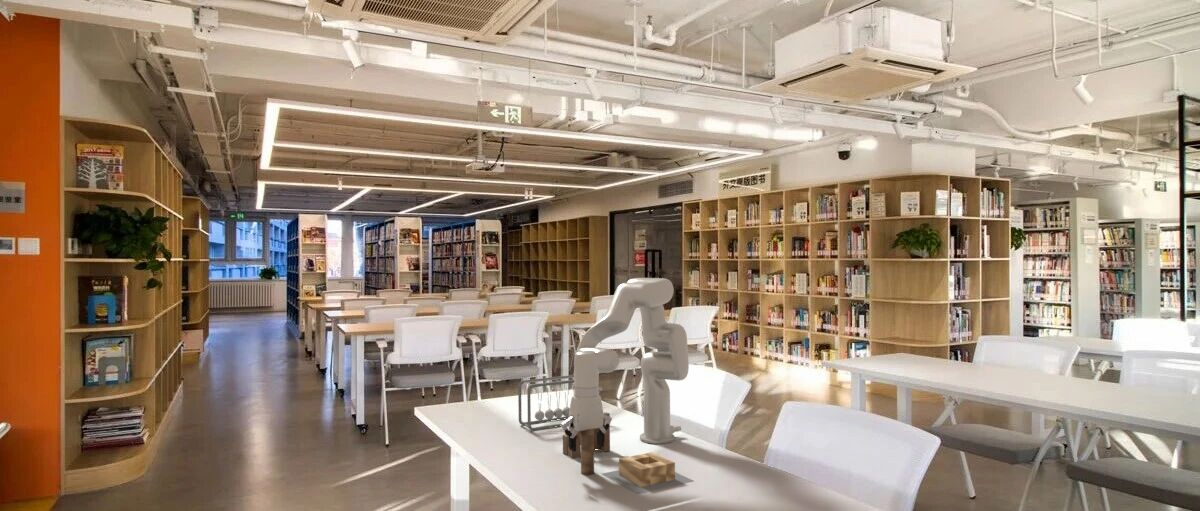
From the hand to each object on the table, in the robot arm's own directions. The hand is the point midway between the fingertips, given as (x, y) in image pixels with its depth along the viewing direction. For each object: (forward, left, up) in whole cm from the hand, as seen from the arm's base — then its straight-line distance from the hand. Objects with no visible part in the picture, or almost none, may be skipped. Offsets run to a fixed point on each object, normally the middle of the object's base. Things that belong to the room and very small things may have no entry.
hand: (586, 448), depth 203 cm
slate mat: (-13, +13, -8) cm, 20 cm away
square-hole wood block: (-13, +13, -8) cm, 20 cm away
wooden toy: (-11, -20, -8) cm, 25 cm away
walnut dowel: (0, 0, -8) cm, 8 cm away
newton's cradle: (-20, -60, -9) cm, 64 cm away
